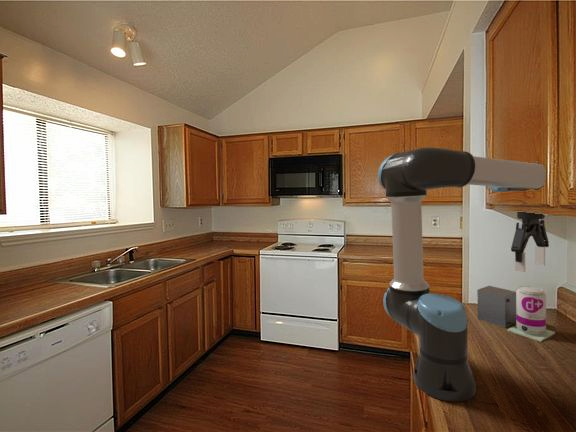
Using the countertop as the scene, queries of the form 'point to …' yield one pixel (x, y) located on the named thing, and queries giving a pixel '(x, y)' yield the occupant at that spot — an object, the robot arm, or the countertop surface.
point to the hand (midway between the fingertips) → (530, 268)
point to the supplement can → (531, 310)
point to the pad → (535, 337)
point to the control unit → (497, 305)
